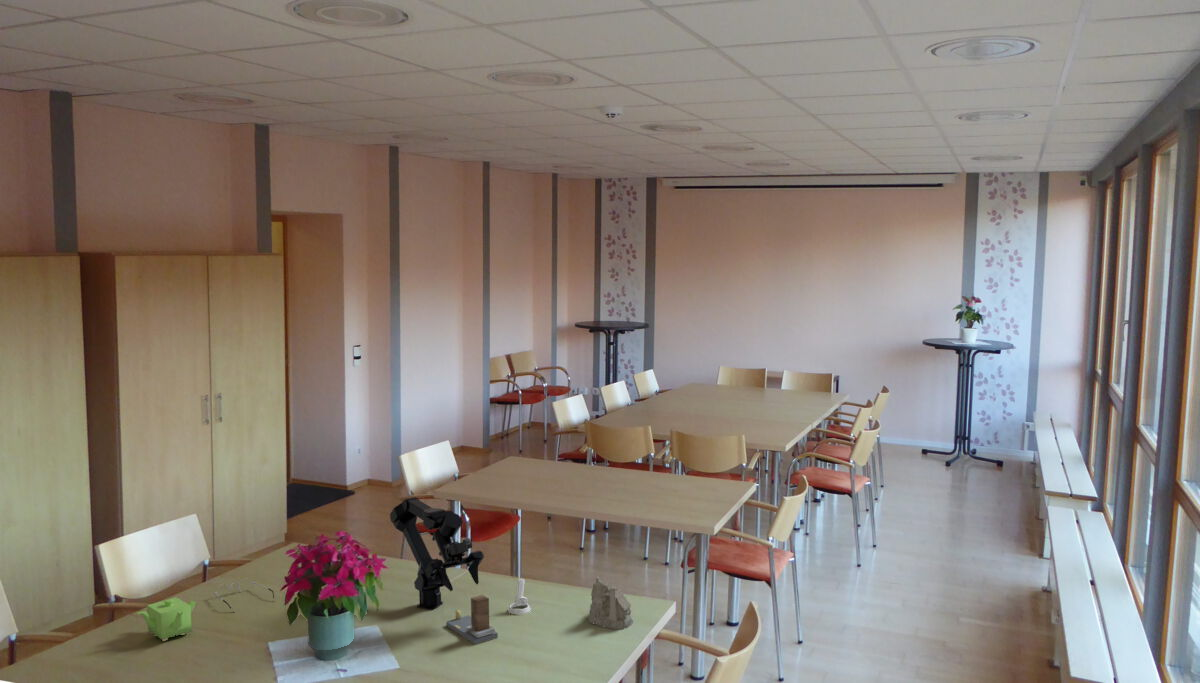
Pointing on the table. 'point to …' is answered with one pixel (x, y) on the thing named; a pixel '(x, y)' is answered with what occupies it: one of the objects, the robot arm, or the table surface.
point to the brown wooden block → (480, 617)
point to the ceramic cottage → (609, 607)
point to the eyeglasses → (239, 589)
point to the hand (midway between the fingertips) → (464, 587)
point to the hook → (519, 600)
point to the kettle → (169, 617)
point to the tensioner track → (460, 627)
